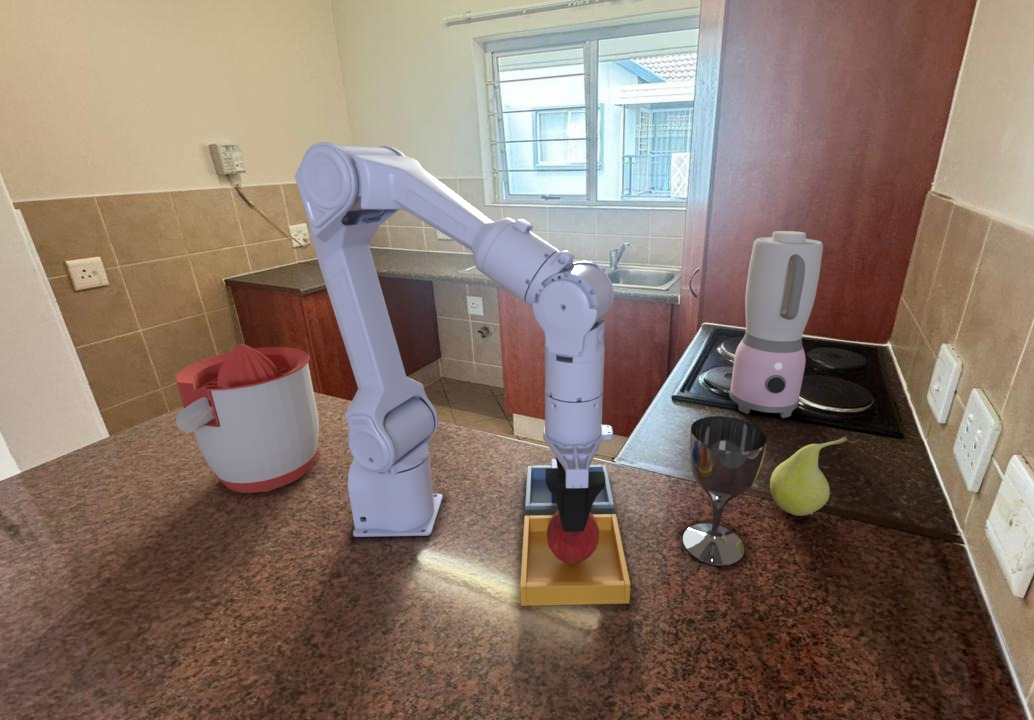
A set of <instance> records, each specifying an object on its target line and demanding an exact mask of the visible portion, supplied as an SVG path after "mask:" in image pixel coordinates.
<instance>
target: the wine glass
mask: <svg viewBox="0 0 1034 720" xmlns="http://www.w3.org/2000/svg"><path fill="white" fill-rule="evenodd" d="M767 441H768V438H767V435H766V433H765V432H764V431H763V430H762V429H761V428H760V427H759V426H757V425H755V424H753V423H751V422H749V421H747V420H743V419H740V418H737V417H730V416H723V415H722V416H721V415H715V416H714V415H713V416H706V417H705V416H704V417H702V418H699V419H697V420H695V421H694V422H693V423H692V424H691V427H690V431H689V443H688V446H689V447H688V454H689V465H690V470H691V472H692V475H693V478H694V480H695V481H696V483H697V484H698V486H699V487H700V488H701V489H703V491H704V493H706V495H707V496H708V497H709V499H710V502H711V505H712V506H711V507H712V522H711V523H704V522H703V523H697V524H693V525H691V526H689V527H688V528H687V529H686V530H685V531H684V533H682V543H683V547H684V548H685V549H686V551H687V552H688V553H689V554H690V555H691V556H693V557H694V558H695V559H697V560H698V561H701V562H704V563H706V564H709V565H713V566H730V565H734V564H736V563H739V562H740V561H741V560H742V558H743V557H744V555H745V551H746V550H745V546H744V542H743V541H742V540H741V538H740V537H739V536H738V534H736V533H735V532H734V531H732V530H730V529H728V528H726V527H724V526H722V525H720V522H721V518H722V515H723V512H724V508H725V506H726V505H727V504H728V503H729V502H730V501H731V500H733V499H735V498H737V497H738V496H741V495H743V494H744V493H746V492H747V491H748V490H750V489H751V488H752V486H753V485H754V484H755V482H756V480H757V478H758V476H759V475H760V471H761V468H762V466H763V463H764V459H765V455H766V450H767V449H766V448H767Z"/></svg>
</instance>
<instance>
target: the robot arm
mask: <svg viewBox="0 0 1034 720" xmlns="http://www.w3.org/2000/svg"><path fill="white" fill-rule="evenodd" d="M294 179H295V183H296V185H297V188H298V191H299V195H300V198H301V201H302V205H303V208H304V211H305V214H306V217H307V221H308V228H309V235H310V239H311V243H312V246H313V249H314V252H315V256H316V259H317V262H318V266H319V269H320V272H321V276H322V278H323V281H324V284H325V287H326V290H327V294H328V297H329V300H330V303H331V306H332V310H333V312H334V316H335V319H336V323H337V326H338V329H339V332H340V335H341V338H342V342H343V344H344V348H345V351H346V354H347V356H348V360H349V363H350V366H351V370H352V373H353V377H354V379H355V383H356V385H357V386H356V387H357V390H356V392H355V395H354V397H353V398H352V400H351V402H350V403H349V406H348V407H347V409H346V411H345V414H344V417H345V419H346V423H347V428H348V434H347V444H348V448H349V452H350V454H351V456H352V457H353V459H352V461H351V464H350V466H349V469H348V475H347V491H348V499H349V503H350V510H351V515H352V519H353V520H352V521H353V526H354V529H353V530H352V536H353V537H354V538H367V537H369V538H371V537H372V538H373V537H375V538H377V537H421V536H422V537H424V536H425V537H427V536H431V534H432V533H433V530H434V527H435V523H436V520H437V518H438V514H439V511H440V508H441V504H442V501H443V499H444V496H443V494H442V493H434V489H433V478H432V470H431V469H432V468H431V460H430V451H429V449H430V447H431V446H432V442H431V437H432V436H433V435H434V434H435V433H436V432H437V430H438V427H439V415H438V413H437V410H436V408H435V406H434V405H433V404H432V402H431V401H430V399H429V398H428V396H427V394H426V391H425V388H424V385H423V383H421V382H419V381H417V380H415V379H413V378H410V377H409V376H407V374H406V371H405V367H404V363H403V360H402V356H401V352H400V349H399V346H398V343H397V339H396V335H395V331H394V328H393V325H392V322H391V318H390V315H389V311H388V306H387V304H386V300H385V297H384V294H383V290H382V286H381V283H380V279H379V276H378V272H377V269H376V265H375V262H374V261H375V260H374V258H373V255H372V251H371V246H370V243H371V241H372V239H373V237H374V236H375V234H376V233H377V231H378V229H379V227H380V226H381V225H382V224H383V223H385V222H386V221H387V220H388V219H389V218H391V217H392V216H393V215H394V214H395V213H397V212H398V211H405V212H407V213H408V214H411V215H412V216H414V217H415V218H417V219H419V220H420V221H422V222H424V223H425V224H427V225H428V226H431V227H432V228H433V229H435V230H437V231H438V232H440V233H442V234H443V235H445V236H447V238H450V239H451V240H453V241H455V242H456V243H458V244H460V245H461V246H463V247H464V248H466V249H468V250H470V251H471V252H472V253H471V254H472V256H473V261H474V265H475V268H476V270H477V271H479V272H480V273H481V274H483V275H484V276H486V277H487V278H489V279H490V280H492V281H493V282H494V283H496V284H498V286H500V287H502V288H503V289H505V291H507V292H509V293H510V294H512V295H513V296H515V297H516V298H518V300H520V301H522V302H523V303H525V304H526V305H528V306H529V307H531V308H532V312H533V316H534V318H535V320H536V322H537V323H538V325H539V326H540V328H541V329H542V332H543V333H544V426H543V429H542V439H543V441H544V442H545V444H546V445H547V447H548V448H549V449H550V451H551V452H552V454H553V455H554V456H555V457H554V458H555V459H556V462H557V468H546V484H547V487H548V489H549V491H550V492H551V493H552V495H553V496H554V498H555V500H556V503H557V506H558V510H559V515H560V520H561V524H562V527H563V530H564V531H565V532H583V531H584V530H585V527H586V524H587V521H588V518H589V514H590V511H591V507H592V505H593V503H594V500H595V499H596V497H597V496H598V494H599V493H600V492H601V491H602V490H603V488H604V486H605V482H606V479H605V474H604V471H590V472H589V466H590V465H592V462H593V460H594V458H595V456H596V454H597V452H598V450H599V448H600V446H601V444H602V442H604V441H611V440H613V439H614V430H613V427H612V426H611V425H610V424H602V423H603V402H604V401H603V399H604V379H605V354H606V347H605V329H606V328H605V327H606V321H605V319H602V318H603V317H605V316H606V314H607V313H608V312H609V310H610V309H611V307H612V305H613V302H614V296H615V294H614V286H613V283H612V280H611V279H610V277H609V275H607V272H605V271H604V270H603V269H601V267H600V266H599V265H598V264H597V263H596V262H593V261H588V260H582V261H581V260H580V261H579V260H578V261H574V259H575V254H573V253H572V252H570V251H569V250H568V249H566V250H563V251H560V250H559V249H557V248H556V247H555V246H554V245H553V246H552V245H551V244H550V243H549V242H547V241H545V240H544V239H543V238H541V237H539V236H538V235H536V234H535V233H533V232H532V230H533V228H534V225H533V224H532V223H531V222H529V221H527V220H526V219H524V218H520V219H516V220H514V219H513V218H510V217H505V218H499V219H497V220H494V221H493V220H491V219H490V218H488V216H486V215H484V214H483V213H482V212H481V211H480V210H478V209H477V208H476V207H474V206H473V205H471V204H470V203H469V202H467V201H466V200H464V199H463V197H461V196H460V195H458V194H457V193H456V192H455V191H453V190H452V189H450V188H449V187H448V186H446V185H445V184H444V183H442V182H441V181H439V179H437V178H436V177H434V175H432V174H430V173H429V172H428V171H426V170H425V169H424V168H423V167H422V165H421V163H419V161H418V160H417V159H415V158H412V157H411V156H408V155H404V153H403V152H402V151H400V149H397V148H395V147H393V146H390V145H382V146H363V145H349V144H348V145H347V144H337V143H336V144H335V143H332V142H328V141H320V142H316V143H313V144H312V145H311V146H309V147H308V149H307V150H306V151H305V153H304V154H303V157H302V159H301V161H300V163H299V166H298V168H297V170H296V171H295V173H294Z"/></svg>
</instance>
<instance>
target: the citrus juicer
mask: <svg viewBox="0 0 1034 720" xmlns="http://www.w3.org/2000/svg"><path fill="white" fill-rule="evenodd" d="M309 362H310V355H309V354H308V353H307V352H306V351H304V350H303V349H300V348H295V347H287V346H263V347H251V346H249V345H247V344H244V343H240V344H237V345H236V346H235V347H234V348H233V349H232V350H231V351H228V352H224V353H221V354H217V355H213V356H210V357H207V358H204V359H201V360H199V361H196V362H194V363H192V364H190V365H188V366H186V367H185V368H183V369H181V371H179V372H178V373H177V374H176V377H175V383H176V385H177V389H178V392H179V396H180V399H181V401H182V406H183V409H182V410H180V412H179V413H178V414H176V417H175V425H176V427H177V429H178V430H180V431H182V432H186V433H194V437H195V440H196V442H197V445H198V449H199V450H200V453H201V455H202V457H203V458H204V460H205V462H206V463H207V466H209V468H210V469H211V470H212V472H213V473H214V475H215V477H216V478H217V479H218V480H219V481H220V482H221V483H222V484H223V485H224V486H225V487H226V488H227V489H229V490H231V491H233V492H236V493H242V494H252V493H253V494H255V493H268V492H271V491H273V490H275V489H279V488H282V487H284V486H286V485H289V484H292V483H293V482H295V481H297V480H299V479H300V478H302V477H303V476H305V475H306V474H308V472H310V470H311V469H312V468H313V466H314V462H315V460H316V456H317V452H318V443H319V435H320V433H319V432H320V422H319V415H318V414H319V413H318V408H317V402H316V397H315V392H314V387H313V381H312V377H311V371H310V366H309V365H310V364H309Z"/></svg>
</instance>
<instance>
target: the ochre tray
mask: <svg viewBox="0 0 1034 720" xmlns="http://www.w3.org/2000/svg"><path fill="white" fill-rule="evenodd" d="M552 516H553V515H539V516H525V515H524V516H523V517H524V518H523V533H522V547H521V548H522V550H521V563H520V565H521V567H520V579H519V580H520V582H519V595H520V606H521V607H527V606H528V607H529V606H533V607H534V606H571V605H573V606H577V605H622V604H624V605H625V604H626V605H627V604H628V605H629V604H630V603H631V602H630V601H631V579H630V576H629V570H628V566H627V561H626V560H627V559H626V556H625V551H624V546H623V541H622V536H621V531H620V526H619V521H618V517H617V514H616V513H614V514H612V515H611V514H599V515H593V516H594V517H595V519H596V522H597V525H598V528H599V541H598V545H597V548H596V550H595V551H594V552H593V553H592V555H591V556H590V557H589V558H587V559H586V560H584V561H583V562H580V563H576V564H569V563H565V562H563V561H561V560H560V559H558V558H556V557H555V555H554V554H553V552H552V551H551V550H550V548H549V546H548V541H547V528H548V525H549V522H550V519H551V518H552Z"/></svg>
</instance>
